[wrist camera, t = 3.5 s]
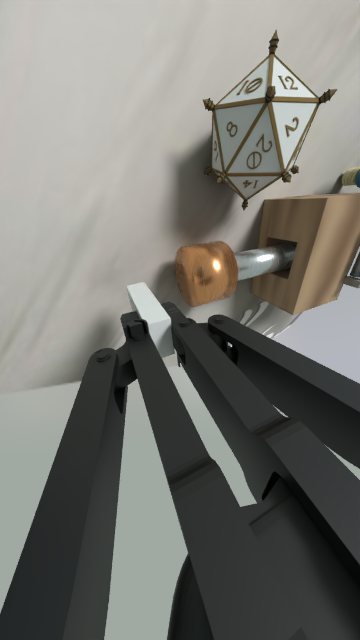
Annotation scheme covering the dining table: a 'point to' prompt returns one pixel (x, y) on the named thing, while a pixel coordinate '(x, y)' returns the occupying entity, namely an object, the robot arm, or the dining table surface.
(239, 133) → the game die
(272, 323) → the dining table surface
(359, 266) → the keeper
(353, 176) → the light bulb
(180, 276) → the pin
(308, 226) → the hitch block
